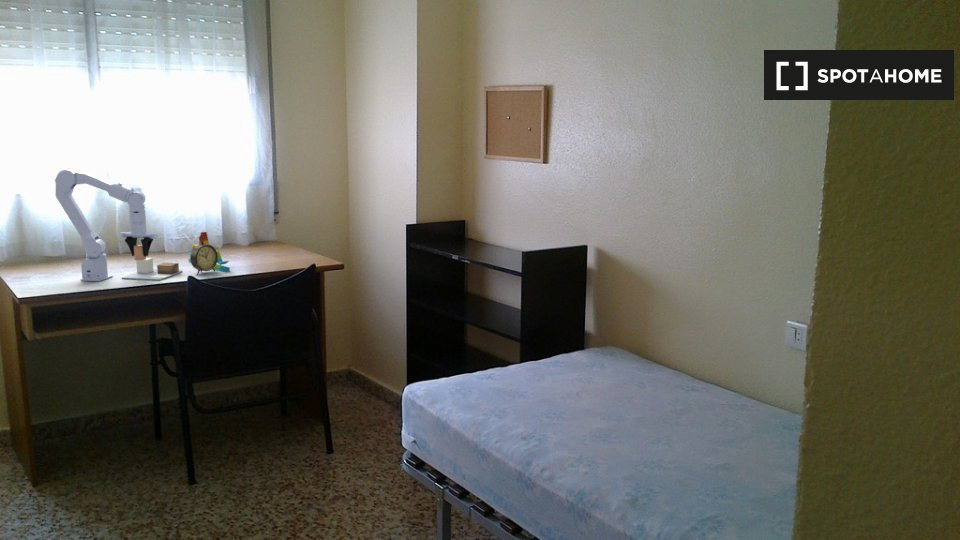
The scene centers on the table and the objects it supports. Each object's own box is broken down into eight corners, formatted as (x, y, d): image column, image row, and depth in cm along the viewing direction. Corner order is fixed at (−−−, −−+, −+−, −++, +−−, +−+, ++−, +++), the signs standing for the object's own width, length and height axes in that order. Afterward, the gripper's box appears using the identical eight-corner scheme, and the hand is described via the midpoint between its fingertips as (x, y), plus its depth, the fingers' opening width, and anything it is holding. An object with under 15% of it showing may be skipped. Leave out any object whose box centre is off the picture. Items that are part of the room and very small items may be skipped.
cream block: (147, 273, 319) (146, 260, 318) (137, 272, 319) (136, 259, 318) (153, 271, 323) (152, 258, 322) (143, 270, 324) (142, 257, 323)
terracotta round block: (142, 260, 310) (141, 246, 309) (132, 259, 311) (131, 246, 310) (148, 258, 315) (147, 244, 314) (138, 257, 315) (137, 244, 314)
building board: (160, 280, 308) (160, 279, 308) (121, 278, 310) (121, 277, 310) (183, 271, 326) (183, 270, 325) (146, 270, 328) (146, 268, 327)
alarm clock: (197, 275, 318) (195, 236, 315) (188, 274, 321) (186, 235, 318) (219, 271, 328) (217, 233, 324) (210, 270, 330) (208, 232, 327)
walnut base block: (171, 274, 318) (171, 265, 317) (157, 273, 318) (157, 265, 318) (178, 271, 324) (178, 263, 323) (165, 270, 324) (164, 262, 324)
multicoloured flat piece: (230, 271, 329) (228, 236, 326) (223, 272, 327) (221, 237, 324) (195, 261, 349) (193, 228, 346) (188, 262, 347) (186, 229, 344)
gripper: (160, 221, 313) (162, 254, 316) (126, 220, 315) (128, 253, 317) (151, 223, 306) (153, 257, 309) (116, 222, 308) (118, 256, 310)
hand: (140, 255), depth 313 cm, fingers closed on terracotta round block, 4 cm apart
